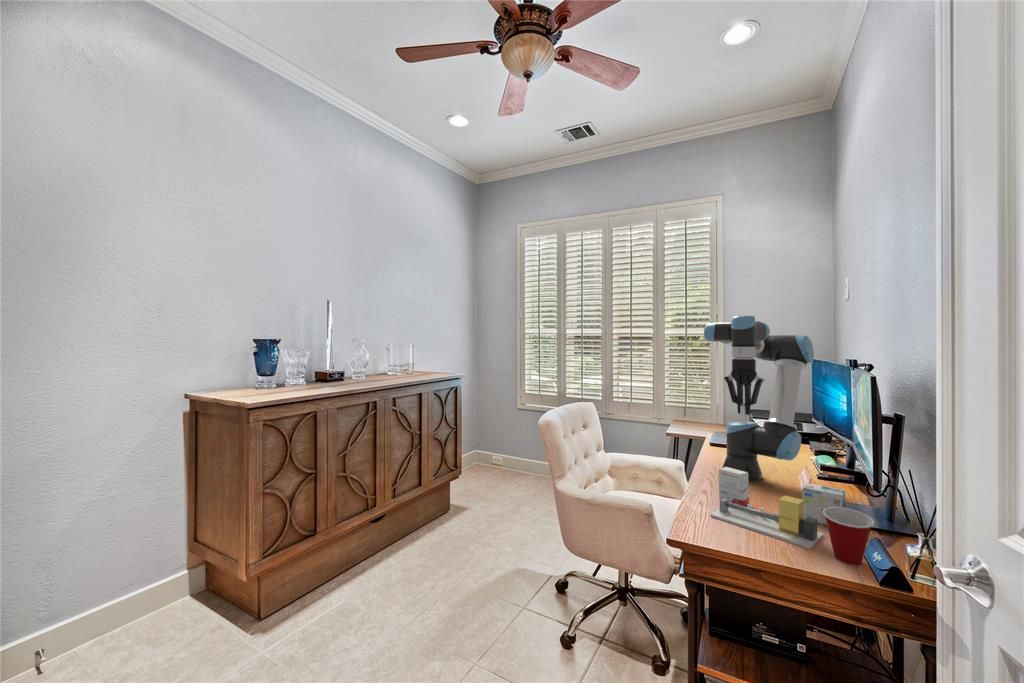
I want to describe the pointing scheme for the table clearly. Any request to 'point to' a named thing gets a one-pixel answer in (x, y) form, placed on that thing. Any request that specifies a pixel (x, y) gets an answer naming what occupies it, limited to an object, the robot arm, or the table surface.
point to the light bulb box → (821, 500)
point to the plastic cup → (848, 533)
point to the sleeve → (790, 514)
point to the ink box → (734, 486)
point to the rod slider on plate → (767, 523)
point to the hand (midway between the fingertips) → (744, 423)
